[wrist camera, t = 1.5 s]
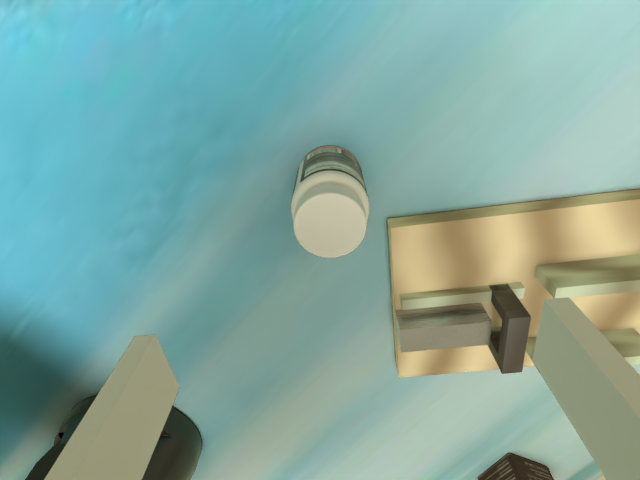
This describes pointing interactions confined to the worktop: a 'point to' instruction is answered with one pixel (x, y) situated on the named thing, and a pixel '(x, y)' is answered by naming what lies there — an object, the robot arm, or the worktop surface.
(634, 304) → the mount
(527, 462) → the box
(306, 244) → the pill bottle
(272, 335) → the worktop surface
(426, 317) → the pin
